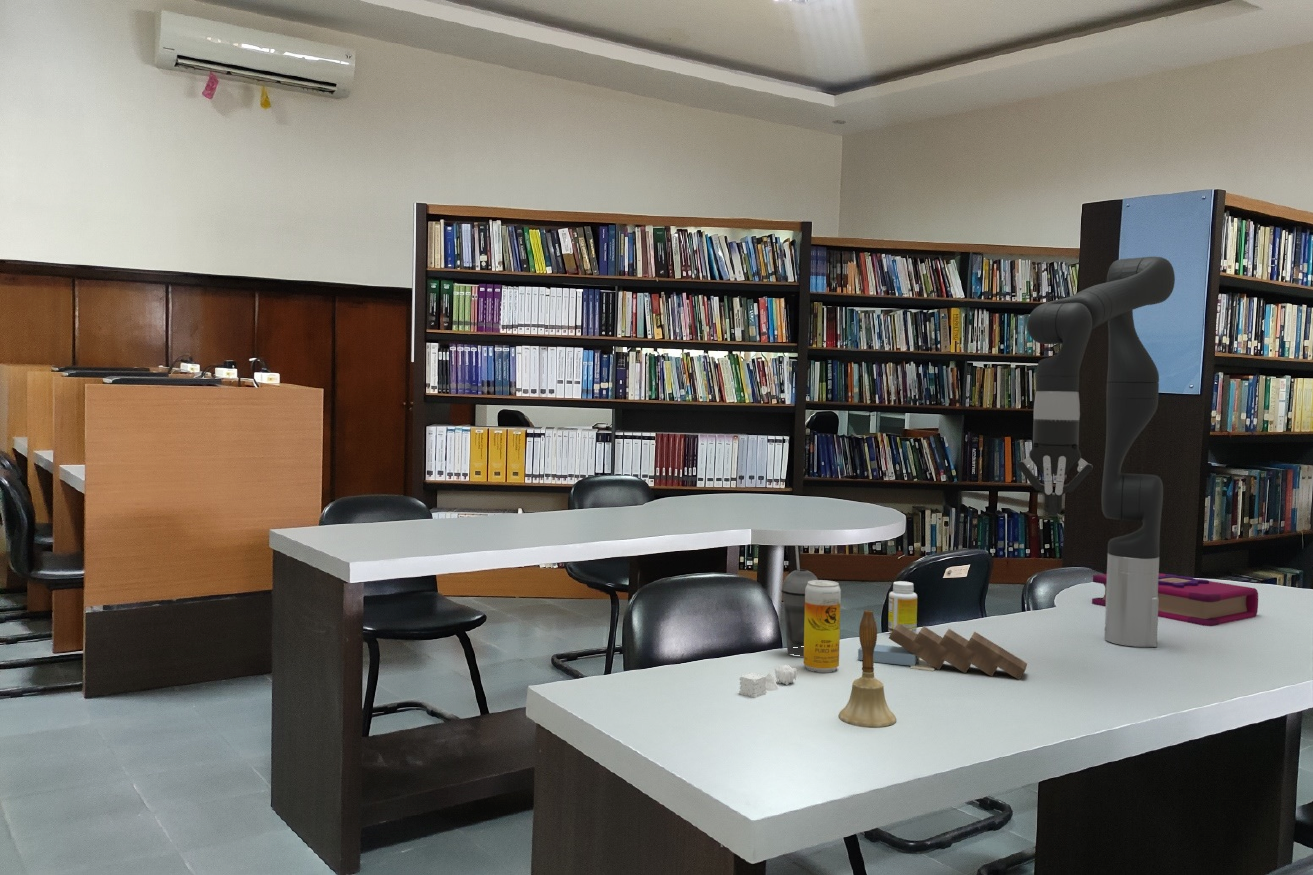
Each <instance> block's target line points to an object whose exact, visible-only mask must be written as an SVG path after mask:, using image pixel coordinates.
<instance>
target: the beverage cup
mask: <svg viewBox="0 0 1313 875" xmlns="http://www.w3.org/2000/svg"><path fill="white" fill-rule="evenodd" d="M794 547H795V548H794V549H795V560H796V569H795V570H793V571H791V572H790V573H788V574H787V575H786V577H785V578H784V580H783V583H782V587H781V593H782V601H783V603H784V604H783V606H784V607H783V608H784V622H785V626H784V627H785V640H786V643H785V644H786V648H787V650H786V651H787V655H788V654H794V655H800V656H804V647H801V646H804V621H805V588H806V586H807V584H808V582H809V581H813V580H819V579H818V577H817V576H816V575H815V574H814V573H813V572H812V571H809V570H808V569H803V568H802V569H801V568H800V558H799V556H800V555H799V546H798V544H795V545H794ZM793 647H798V648H793Z"/></svg>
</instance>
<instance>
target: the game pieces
mask: <svg viewBox="0 0 1313 875" xmlns="http://www.w3.org/2000/svg"><path fill="white" fill-rule="evenodd" d="M774 670H775V672H774V674H775V676H773V674H772V673H771V672H768V673H767V674H766V675H762V674H758V673H755V672H749V673H747V674H743V675H740V676H739V685H740V686H739V695H744V696H747V697H751V698H753V699H754V698H755V699H756V698H758V697H761V696H763V695H764V696H765V695H766V694H767V692H775V691H779V686H778V684H781V683H782V684H783V685H786V686H788V685H789V684H794V681H796V678H797V675H798V673H797V672H798V669H797V667H791V666H790V665H789V664H783V665H781V666H779V668H778V667H775V668H774ZM775 678H776V680H777V681H778V684H777V682H776V680H775Z"/></svg>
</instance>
